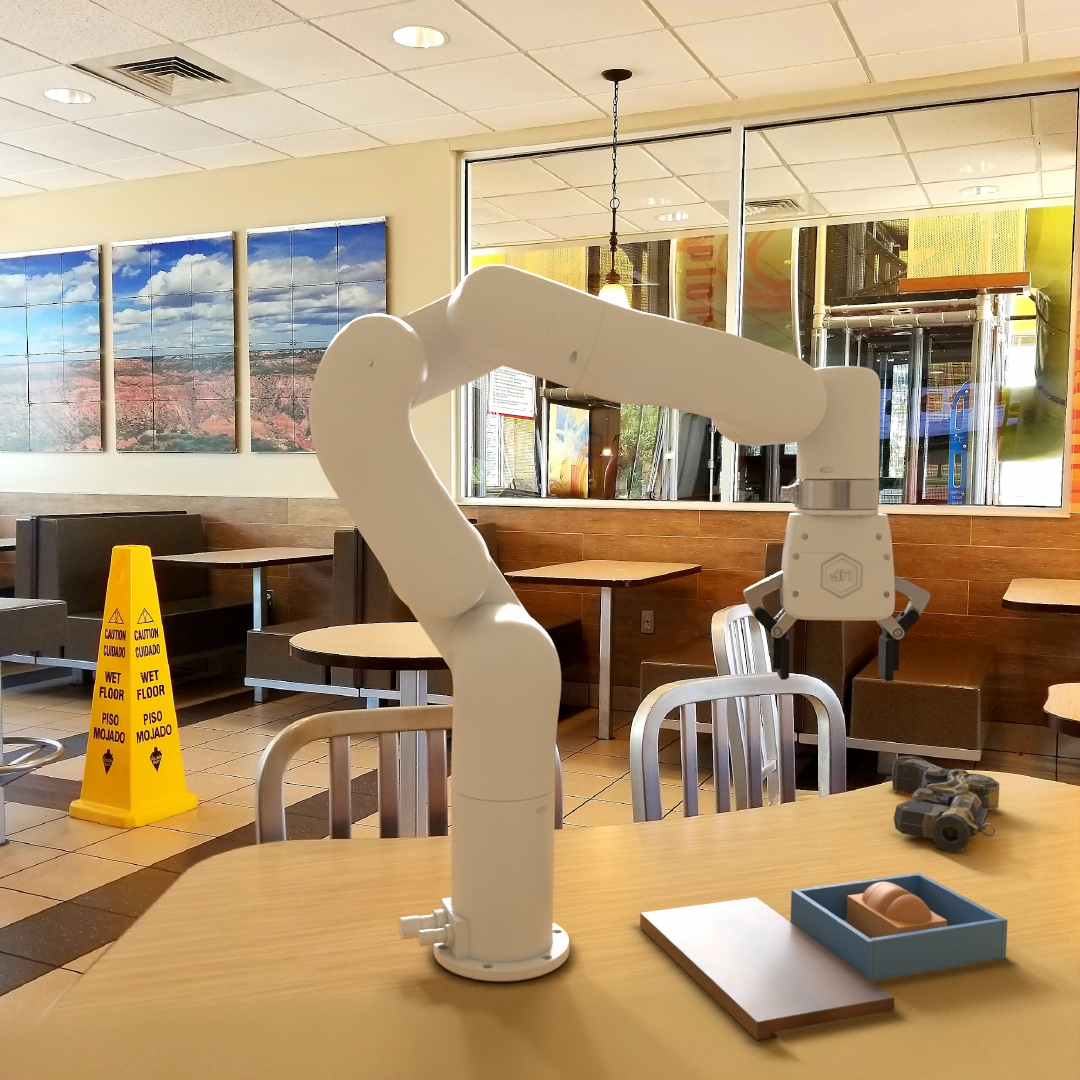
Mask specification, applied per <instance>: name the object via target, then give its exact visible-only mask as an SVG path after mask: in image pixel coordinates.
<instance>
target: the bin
mask: <svg viewBox="0 0 1080 1080" xmlns="http://www.w3.org/2000/svg"><path fill="white" fill-rule="evenodd" d="M878 882H890V883H893V884H896V885H898V886H900V887H901V888H903V889H905V890H907V891H908V892H910V893H912V894H914V895H915V896H917V897H919V898H920V899H921V900H922V901H924V902H925V904H926V905H927V906H928V908H929V910H930V911H932V912H934V913H935V914H937V915H939V916H941V917H942V918H944V919H946V920H947V927H940V928H934V929H927V930H921V931H915V932H908V933H902V934H895V935H889V936H883V937H876V938H871V939H870V938H868V937H867V936H866V935H864V934H863V933H861V932H860V931H858V930H857V929H855V928H854V927H852V926H851V925H849V924H848V923H847V896H848V895H855V894H862V893H864V892H865V890H866V889H867V888H868V887H870V886H871V885H873V884H875V883H878ZM790 894H791V895H790V896H791V897H790V922H791V923H792V924H794V925H795V926H797V927H798V928H799V929H801V930H802V931H803V932H805V933H806V934H808V935H809V936H810V937H812V938H813V939H814V940H816V941H817V942H819V943H820V944H821V945H823V946H824V947H825V948H827V949H828V950H830V951H831V952H832V953H834V954H835V955H836V956H838V957H839V958H841V959H842V960H843V961H845V962H846V963H847V964H849V965H850V966H852V967H853V968H854V969H856V970H857V971H858V972H860V973H861V974H863V975H864V976H865V977H867V978H868V979H869V980H871V981H872V982H873V981H877V980H883V979H889V978H890V979H891V978H895V977H901V976H906V975H907V976H908V975H913V974H919V973H924V972H930V971H935V970H943V969H947V968H954V967H959V966H964V965H971V964H976V963H982V962H989V961H994V960H999V959H1005V958H1006V957H1007V942H1008V941H1007V939H1008V919H1006V918H1004V917H1003V916H1001V915H999V914H998V913H996V912H994V911H992V910H990V909H987V908H986V907H984V906H983V905H980V904H978V903H977V902H975V901H973V900H971V899H969V898H968V897H965V896H964V895H962V894H960V893H958V892H957V891H954V890H953V889H951V888H949V887H947V886H945V885H944V884H941V883H940V882H938V881H936V880H934V879H933V878H931V877H929V876H926V875H925V874H923V873H921V872H913V873H907V874H899V875H891V876H883V877H876V878H868V879H862V880H854V881H848V882H840V883H833V884H832V883H831V884H825V885H817V886H810V887H803V888H802V887H801V888H797V889H791V893H790Z"/></svg>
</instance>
